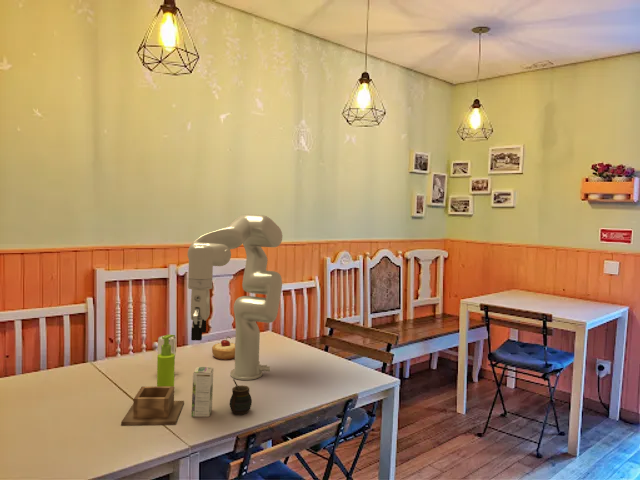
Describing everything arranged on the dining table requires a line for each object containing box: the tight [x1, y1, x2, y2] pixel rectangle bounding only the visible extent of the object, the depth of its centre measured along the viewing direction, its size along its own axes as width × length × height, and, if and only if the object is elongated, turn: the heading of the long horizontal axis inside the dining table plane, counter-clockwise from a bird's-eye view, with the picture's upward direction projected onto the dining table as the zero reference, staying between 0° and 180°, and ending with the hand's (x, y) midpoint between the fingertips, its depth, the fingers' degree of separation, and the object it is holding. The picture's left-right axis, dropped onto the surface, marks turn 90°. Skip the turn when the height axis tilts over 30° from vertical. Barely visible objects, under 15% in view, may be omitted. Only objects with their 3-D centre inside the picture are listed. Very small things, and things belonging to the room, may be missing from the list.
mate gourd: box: [229, 378, 253, 416], centre depth 162 cm, size 7×8×10 cm
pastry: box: [211, 336, 235, 361], centre depth 219 cm, size 12×12×9 cm
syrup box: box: [191, 366, 214, 418], centre depth 159 cm, size 6×6×14 cm
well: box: [120, 385, 185, 426], centre depth 158 cm, size 16×16×7 cm
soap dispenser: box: [156, 334, 176, 387], centre depth 177 cm, size 6×7×20 cm
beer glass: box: [157, 335, 177, 376], centre depth 193 cm, size 7×7×15 cm
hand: (198, 336), depth 160 cm, fingers open, 9 cm apart
